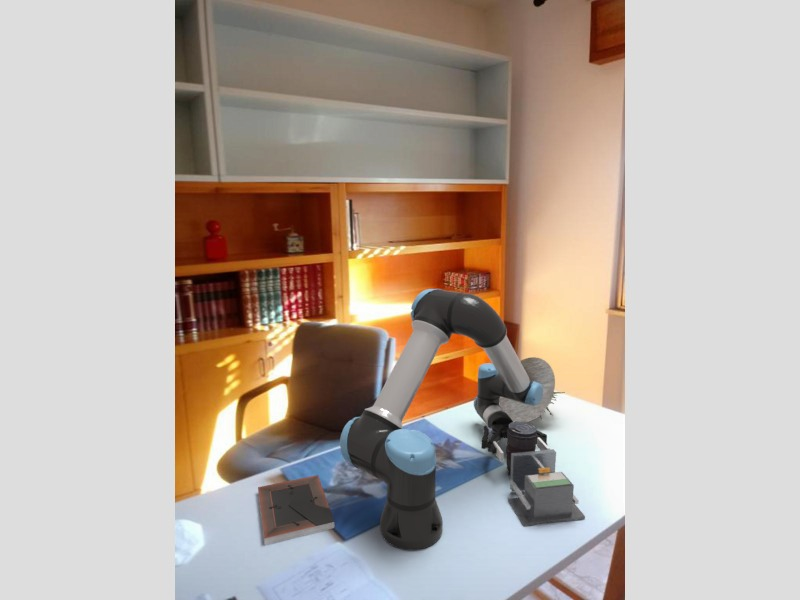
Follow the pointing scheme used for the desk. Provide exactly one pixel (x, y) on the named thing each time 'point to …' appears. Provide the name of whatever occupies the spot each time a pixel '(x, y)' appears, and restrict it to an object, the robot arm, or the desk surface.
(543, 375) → the disc
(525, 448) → the camera lens
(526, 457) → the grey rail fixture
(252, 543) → the desk surface
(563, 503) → the grey box on baseplate
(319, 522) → the picture frame
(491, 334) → the robot arm
